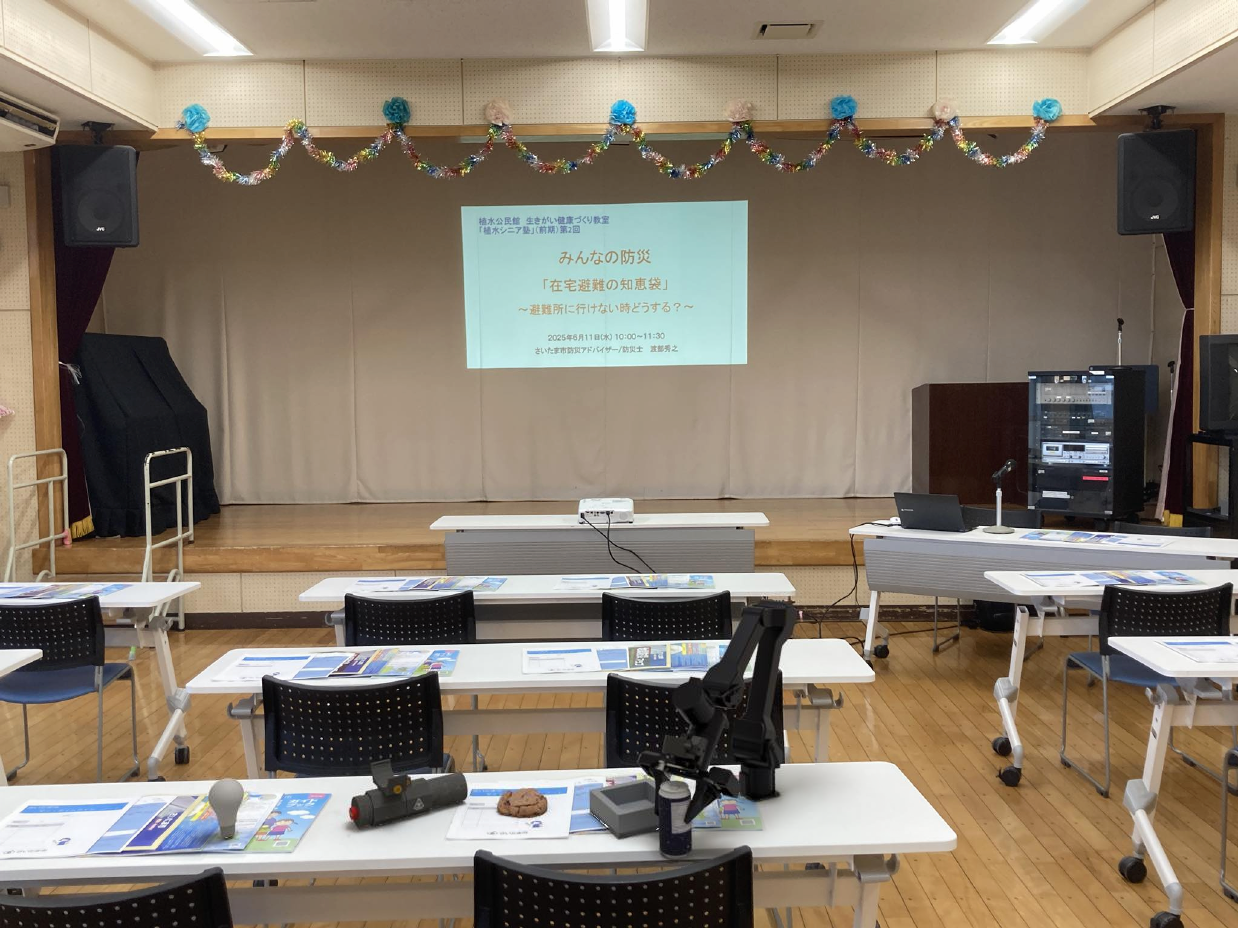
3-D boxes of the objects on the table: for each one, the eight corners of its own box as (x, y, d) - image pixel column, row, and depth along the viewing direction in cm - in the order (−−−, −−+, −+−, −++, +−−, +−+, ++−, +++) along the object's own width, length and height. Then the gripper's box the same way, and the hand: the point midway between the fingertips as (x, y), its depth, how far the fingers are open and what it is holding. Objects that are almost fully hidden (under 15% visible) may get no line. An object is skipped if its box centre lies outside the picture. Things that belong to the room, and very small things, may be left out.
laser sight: (472, 809, 189) (471, 759, 189) (360, 839, 177) (358, 785, 176) (452, 793, 197) (450, 745, 197) (343, 820, 185) (341, 769, 184)
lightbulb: (211, 847, 174) (208, 788, 173) (208, 834, 180) (206, 776, 179) (247, 840, 177) (245, 781, 176) (243, 827, 182) (241, 770, 182)
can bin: (650, 799, 191) (649, 777, 191) (681, 824, 180) (681, 800, 179) (589, 812, 186) (589, 789, 186) (618, 839, 174) (618, 814, 174)
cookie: (529, 824, 182) (529, 808, 182) (485, 812, 188) (485, 797, 187) (560, 805, 190) (559, 790, 190) (517, 794, 196) (516, 780, 196)
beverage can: (692, 845, 171) (691, 779, 170) (691, 860, 165) (690, 792, 164) (660, 845, 171) (659, 779, 171) (658, 860, 166) (657, 791, 165)
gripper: (641, 706, 176) (606, 786, 167) (732, 724, 165) (699, 810, 156) (666, 736, 182) (633, 814, 174) (754, 755, 172) (724, 839, 163)
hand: (670, 818), depth 167 cm, fingers closed on beverage can, 6 cm apart
